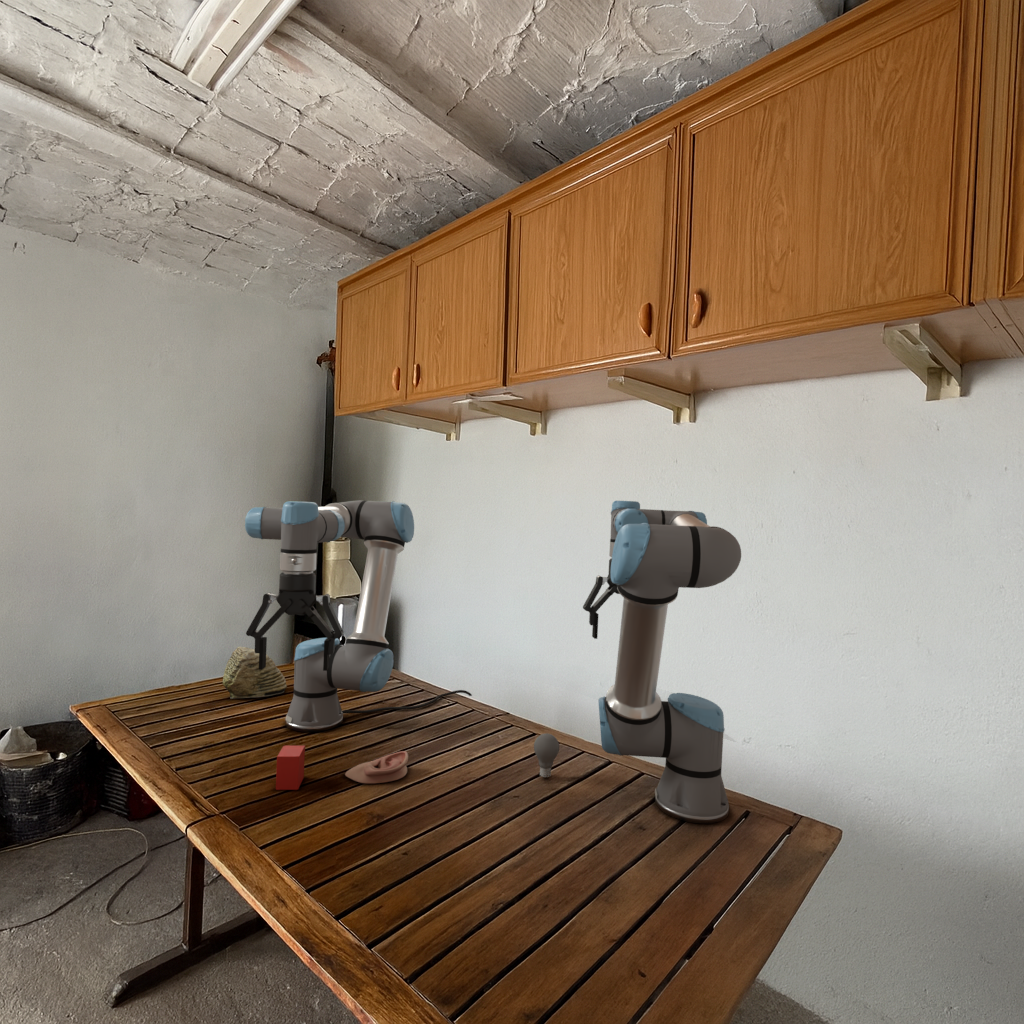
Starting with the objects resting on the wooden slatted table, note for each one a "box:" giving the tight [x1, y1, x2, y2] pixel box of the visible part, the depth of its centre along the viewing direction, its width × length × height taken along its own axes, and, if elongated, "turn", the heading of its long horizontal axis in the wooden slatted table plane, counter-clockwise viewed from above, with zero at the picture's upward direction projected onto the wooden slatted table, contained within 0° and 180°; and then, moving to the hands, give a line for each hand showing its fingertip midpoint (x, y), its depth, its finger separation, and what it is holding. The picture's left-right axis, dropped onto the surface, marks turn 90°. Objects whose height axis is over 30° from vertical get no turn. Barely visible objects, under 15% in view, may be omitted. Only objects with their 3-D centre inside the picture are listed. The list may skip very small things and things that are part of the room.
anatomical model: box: [344, 750, 409, 784], centre depth 146 cm, size 13×4×12 cm
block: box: [275, 745, 306, 791], centre depth 139 cm, size 5×6×7 cm
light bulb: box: [533, 732, 560, 778], centre depth 148 cm, size 6×6×10 cm
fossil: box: [222, 646, 288, 699], centre depth 198 cm, size 9×18×15 cm, turn 132°
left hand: (294, 668), depth 139 cm, fingers open, 13 cm apart
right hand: (619, 638), depth 169 cm, fingers open, 13 cm apart
